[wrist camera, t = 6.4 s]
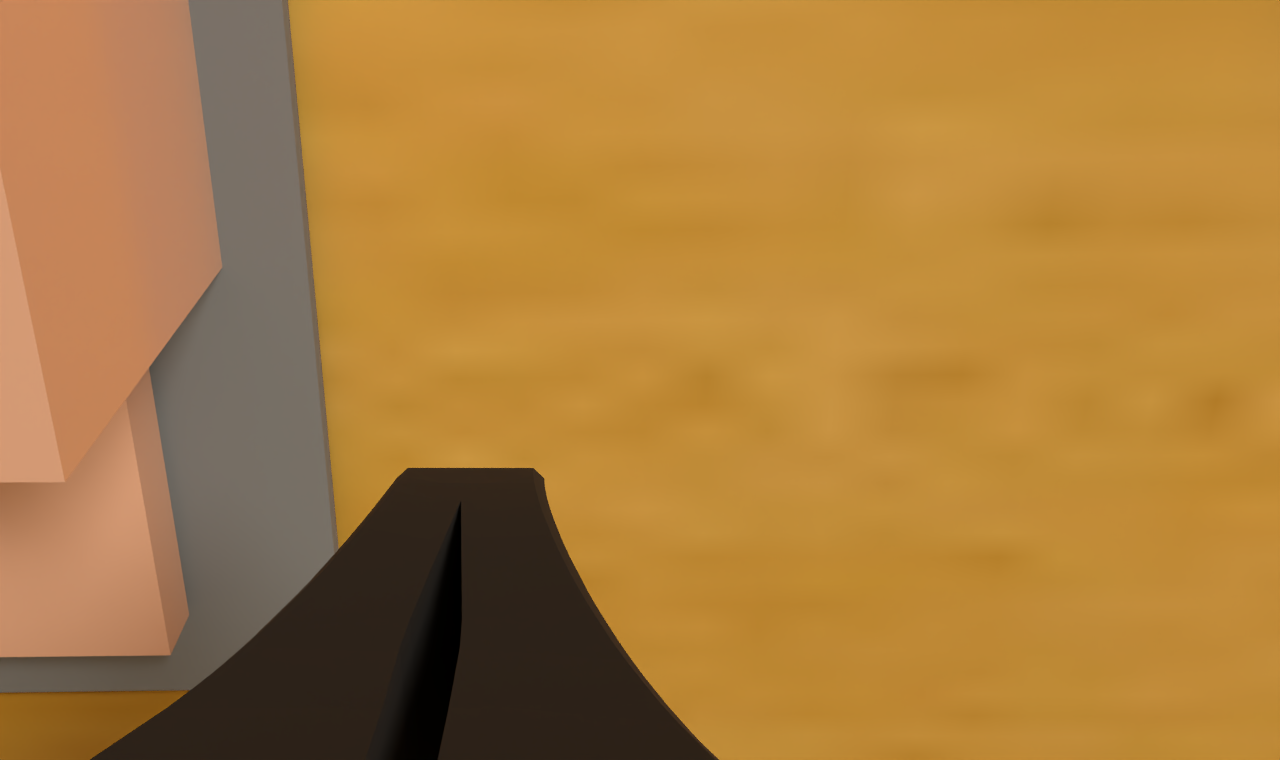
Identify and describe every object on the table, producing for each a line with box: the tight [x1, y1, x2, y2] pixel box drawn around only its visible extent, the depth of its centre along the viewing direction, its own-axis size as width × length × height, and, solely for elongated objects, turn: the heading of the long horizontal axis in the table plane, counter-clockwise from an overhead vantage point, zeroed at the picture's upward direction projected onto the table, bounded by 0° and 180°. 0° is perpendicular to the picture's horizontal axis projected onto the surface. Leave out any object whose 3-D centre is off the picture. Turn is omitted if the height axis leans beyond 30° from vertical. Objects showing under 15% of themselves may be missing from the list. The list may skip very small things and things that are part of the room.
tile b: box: [0, 0, 222, 482], centre depth 15 cm, size 6×1×7 cm, turn 178°
